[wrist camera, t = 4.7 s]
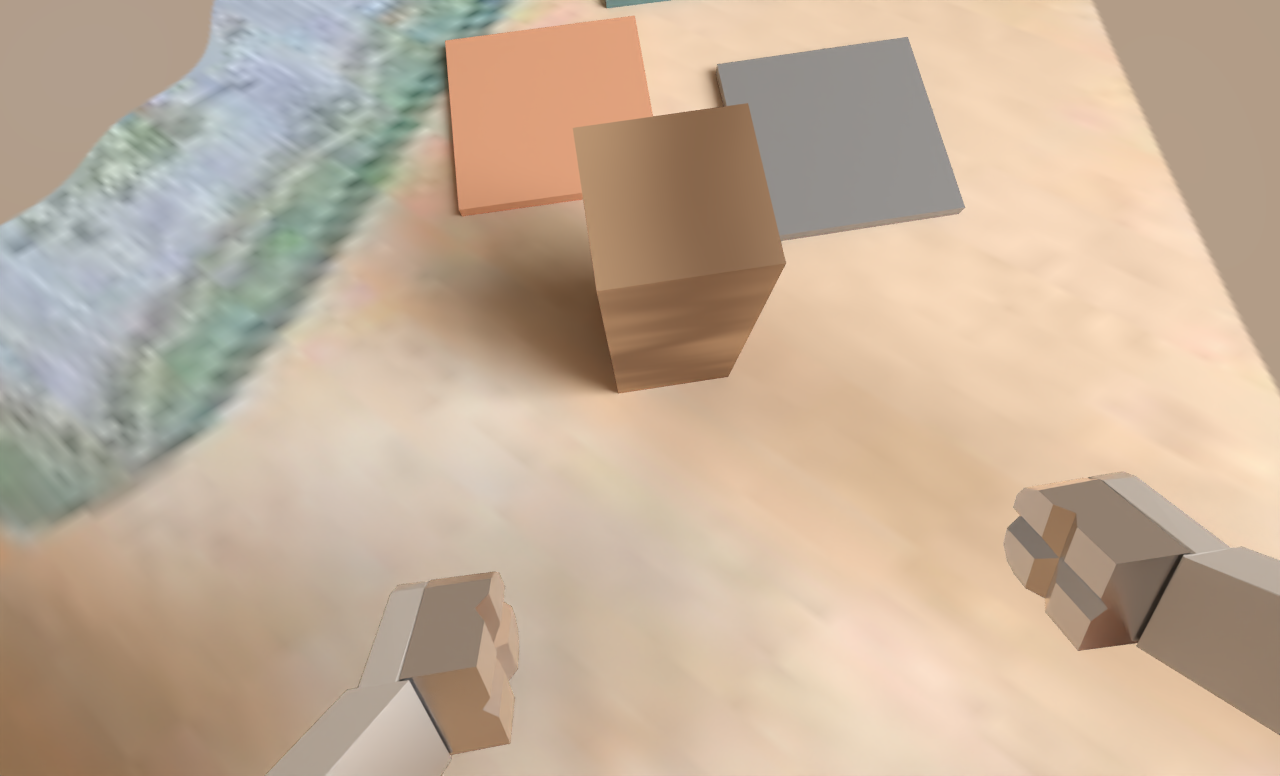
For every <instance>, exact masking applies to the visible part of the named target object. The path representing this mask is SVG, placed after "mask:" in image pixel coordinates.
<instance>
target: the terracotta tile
mask: <svg viewBox="0 0 1280 776" xmlns="http://www.w3.org/2000/svg"><path fill="white" fill-rule="evenodd" d="M445 44H446V57H447V69H448V82H449V94H450V107H451V119H452V132H453V144H454V157H455V169H456V182H457V194H458V207H459V211H460V213H461V215H462V216H468V215H475V214H482V213H489V212H496V211H503V210H511V209H518V208H525V207H532V206H539V205H546V204H553V203H560V202H568V201H575V200H582V199H583V195H582V188H581V181H580V174H579V168H578V161H577V154H576V147H575V140H574V133H573V128H576V127H583V126H590V125H597V124H604V123H611V122H618V121H625V120H632V119H639V118H646V117H653V114H652V109H651V103H650V98H649V92H648V87H647V81H646V76H645V70H644V64H643V59H642V53H641V48H640V42H639V37H638V31H637V26H636V20H635V16H628V17H621V18H613V19H606V20H598V21H591V22H583V23H575V24H568V25H560V26H553V27H545V28H538V29H530V30H523V31H515V32H507V33H500V34H492V35H485V36H477V37H470V38H462V39H454V40H447V41H445Z"/></svg>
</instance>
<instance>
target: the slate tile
mask: <svg viewBox="0 0 1280 776" xmlns="http://www.w3.org/2000/svg"><path fill="white" fill-rule="evenodd" d="M716 76H717V80H718V85H719V89H720V93H721V98H722V102H723V106H731V105H738V104H745V103H748V105H749V109H750V113H751V117H752V122H753V126H754V130H755V134H756V139H757V143H758V147H759V151H760V155H761V160H762V164H763V168H764V172H765V177H766V181H767V185H768V189H769V194H770V198H771V202H772V206H773V210H774V215H775V219H776V223H777V227H778V232H779V236H780V240H781V241H784V240H791V239H797V238H804V237H810V236H817V235H823V234H830V233H837V232H843V231H850V230H856V229H863V228H869V227H876V226H882V225H889V224H895V223H902V222H909V221H915V220H922V219H928V218H935V217H941V216H948V215H954V214H959V213H960V212H961V211H962V210H963V209H964V208H965V206H964V203H963V200H962V197H961V194H960V191H959V188H958V185H957V182H956V179H955V176H954V173H953V170H952V167H951V164H950V161H949V158H948V155H947V152H946V149H945V146H944V143H943V140H942V138H941V135H940V132H939V129H938V126H937V123H936V120H935V117H934V114H933V111H932V108H931V105H930V102H929V99H928V96H927V93H926V90H925V87H924V84H923V81H922V78H921V75H920V72H919V69H918V66H917V63H916V60H915V57H914V54H913V51H912V48H911V45H910V42H909V39H908V37H904V38H897V39H890V40H883V41H876V42H870V43H863V44H856V45H849V46H842V47H835V48H828V49H821V50H814V51H807V52H800V53H793V54H786V55H779V56H772V57H765V58H758V59H751V60H744V61H737V62H730V63H723V64H717V68H716Z"/></svg>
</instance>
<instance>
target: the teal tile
mask: <svg viewBox="0 0 1280 776" xmlns="http://www.w3.org/2000/svg"><path fill="white" fill-rule="evenodd" d="M605 1H606V7H607V8H613V7H621V6H629V5H637V4H645V3H653V2H661V1H669V0H605Z"/></svg>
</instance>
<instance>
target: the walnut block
mask: <svg viewBox="0 0 1280 776" xmlns="http://www.w3.org/2000/svg"><path fill="white" fill-rule="evenodd" d="M573 133H574V140H575V147H576V154H577V161H578V168H579V174H580V181H581V188H582V195H583V202H584V209H585V216H586V222H587V229H588V236H589V243H590V250H591V257H592V264H593V270H594V277H595V284H596V291H597V296H598V300H599V305H600V310H601V314H602V319H603V324H604V328H605V333H606V338H607V342H608V347H609V352H610V356H611V361H612V365H613V370H614V375H615V379H616V384H617V389H618V393H624V392H631V391H637V390H644V389H651V388H657V387H664V386H670V385H677V384H683V383H690V382H696V381H703V380H710V379H716V378H723V377H728V376H729V374H730V372H731V370H732V368H733V366H734V364H735V362H736V360H737V358H738V356H739V354H740V352H741V350H742V348H743V347H744V345H745V343H746V341H747V339H748V337H749V335H750V333H751V331H752V329H753V327H754V325H755V323H756V321H757V319H758V317H759V315H760V313H761V311H762V309H763V307H764V305H765V303H766V301H767V299H768V298H769V296H770V294H771V292H772V290H773V288H774V286H775V284H776V282H777V280H778V278H779V276H780V274H781V272H782V270H783V268H784V266H785V264H786V261H785V257H784V253H783V249H782V244H781V240H780V236H779V232H778V227H777V223H776V219H775V215H774V210H773V206H772V202H771V198H770V194H769V189H768V185H767V181H766V177H765V172H764V168H763V164H762V160H761V155H760V151H759V147H758V143H757V139H756V134H755V130H754V126H753V122H752V117H751V113H750V109H749V105H748V103H745V104H738V105H731V106H724V107H717V108H710V109H703V110H696V111H689V112H682V113H675V114H668V115H661V116H653V117H646V118H639V119H632V120H625V121H618V122H611V123H604V124H597V125H590V126H583V127H576V128H573Z"/></svg>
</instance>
